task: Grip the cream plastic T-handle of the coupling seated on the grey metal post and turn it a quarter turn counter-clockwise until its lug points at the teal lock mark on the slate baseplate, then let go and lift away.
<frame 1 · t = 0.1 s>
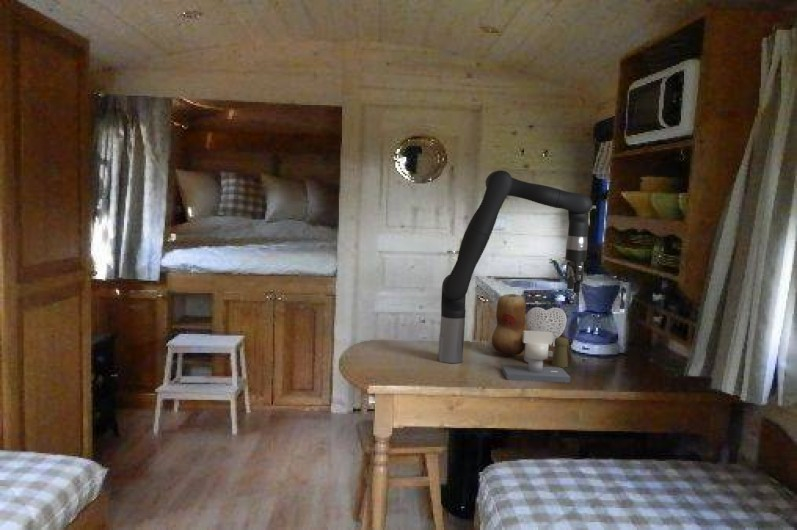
hand: (573, 290, 232), 29 cm above the table, tool pointing down, fingers open, 8 cm apart
cork: (559, 366, 236), on the table
decorative heart: (544, 346, 266), on the table
coupling: (537, 344, 219), point 12 cm above the table, hinge at 0.0°
butternut squash: (508, 356, 247), on the table
beverage can: (532, 362, 239), on the table
baseplate: (534, 376, 220), on the table
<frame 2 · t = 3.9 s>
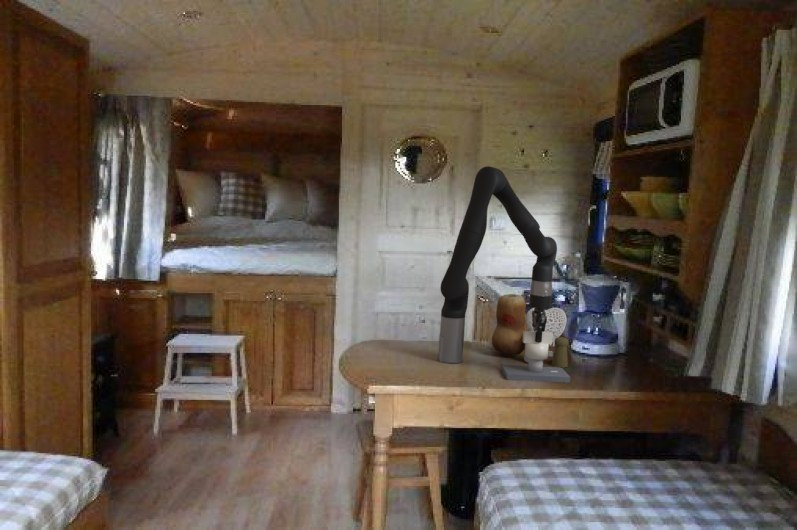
hand: (537, 341, 218), 13 cm above the table, tool pointing down, fingers closed on coupling, 2 cm apart
coupling: (537, 344, 219), point 12 cm above the table, hinge at 0.0°, touching gripper
everything else where it was.
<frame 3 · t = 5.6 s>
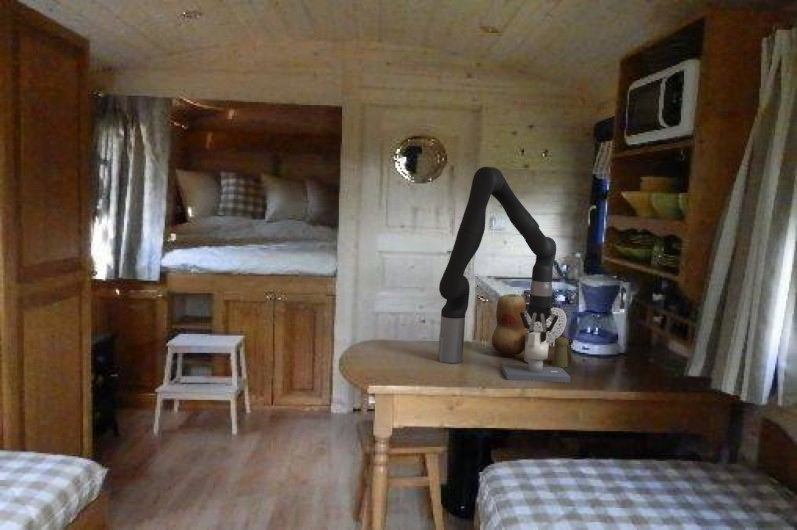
hand: (537, 341, 218), 13 cm above the table, tool pointing down, fingers closed on coupling, 3 cm apart
coupling: (537, 344, 219), point 12 cm above the table, hinge at 52.8°, touching gripper
everything else where it was.
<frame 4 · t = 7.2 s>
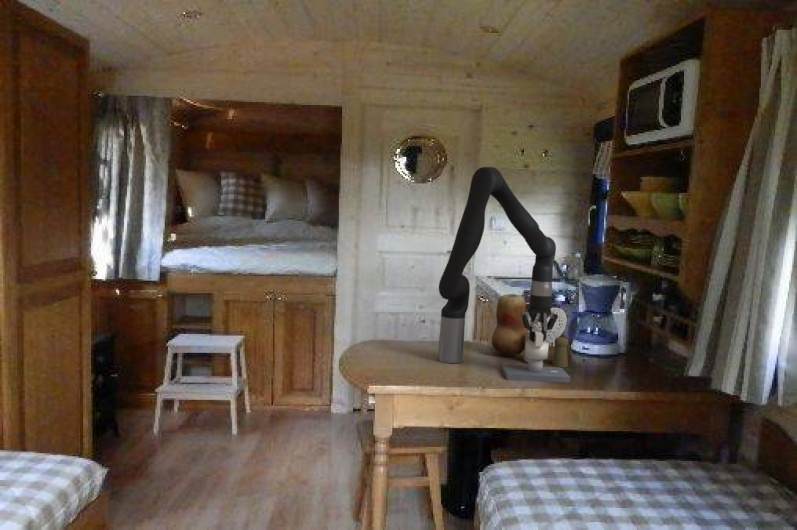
hand: (537, 341, 218), 13 cm above the table, tool pointing down, fingers closed on coupling, 3 cm apart
coupling: (537, 344, 219), point 12 cm above the table, hinge at 85.1°, touching gripper
everything else where it was.
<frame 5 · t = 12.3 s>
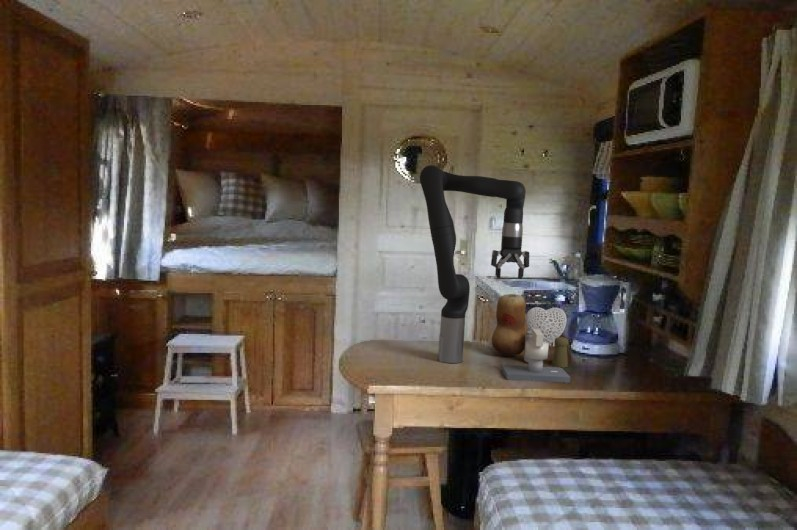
hand: (509, 278, 230), 33 cm above the table, tool pointing down, fingers open, 8 cm apart
coupling: (536, 344, 219), point 12 cm above the table, hinge at 86.6°
everything else where it was.
at the end: coupling at +87° (first picture: +0°); the gripper is holding nothing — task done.
